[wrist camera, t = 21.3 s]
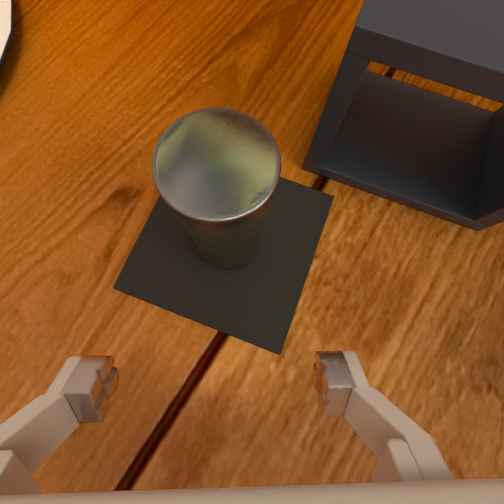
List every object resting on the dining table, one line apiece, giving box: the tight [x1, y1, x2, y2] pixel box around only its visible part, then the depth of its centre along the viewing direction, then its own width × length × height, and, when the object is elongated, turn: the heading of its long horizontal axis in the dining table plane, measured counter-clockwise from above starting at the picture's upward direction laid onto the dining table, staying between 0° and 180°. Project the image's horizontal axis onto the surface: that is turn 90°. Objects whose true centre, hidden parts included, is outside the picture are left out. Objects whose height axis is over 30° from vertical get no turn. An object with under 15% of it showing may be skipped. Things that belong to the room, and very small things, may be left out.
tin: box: [152, 107, 281, 271], centre depth 15 cm, size 5×5×10 cm
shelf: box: [302, 0, 504, 231], centre depth 18 cm, size 14×10×11 cm
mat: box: [113, 177, 334, 355], centre depth 20 cm, size 12×12×1 cm
